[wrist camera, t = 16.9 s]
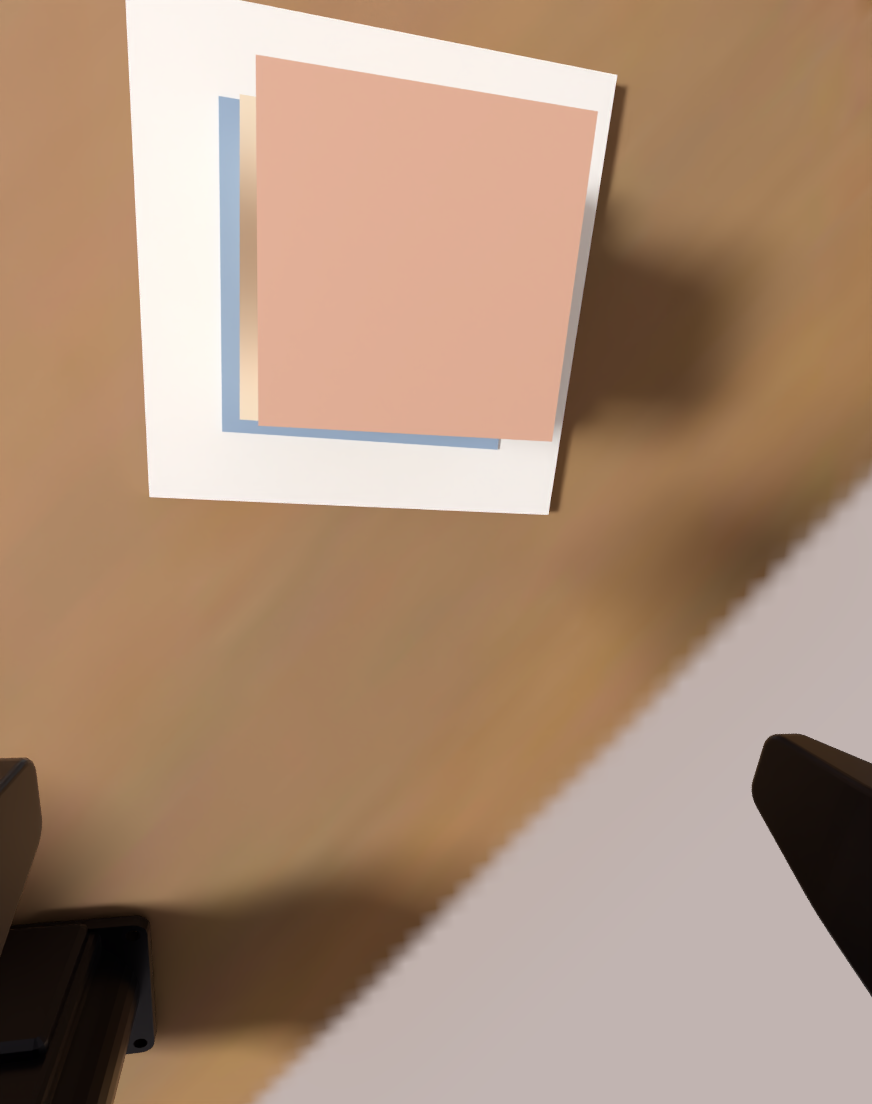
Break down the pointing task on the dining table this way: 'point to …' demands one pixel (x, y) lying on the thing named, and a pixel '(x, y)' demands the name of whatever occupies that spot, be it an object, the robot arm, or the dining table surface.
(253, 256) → the maple block
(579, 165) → the terracotta cube
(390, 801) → the dining table surface
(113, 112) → the dining table surface
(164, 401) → the board
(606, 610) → the dining table surface
